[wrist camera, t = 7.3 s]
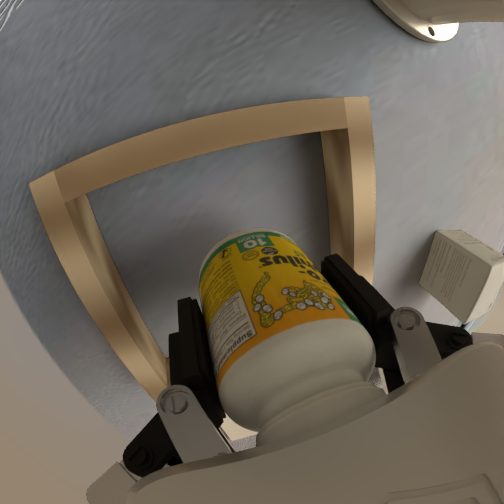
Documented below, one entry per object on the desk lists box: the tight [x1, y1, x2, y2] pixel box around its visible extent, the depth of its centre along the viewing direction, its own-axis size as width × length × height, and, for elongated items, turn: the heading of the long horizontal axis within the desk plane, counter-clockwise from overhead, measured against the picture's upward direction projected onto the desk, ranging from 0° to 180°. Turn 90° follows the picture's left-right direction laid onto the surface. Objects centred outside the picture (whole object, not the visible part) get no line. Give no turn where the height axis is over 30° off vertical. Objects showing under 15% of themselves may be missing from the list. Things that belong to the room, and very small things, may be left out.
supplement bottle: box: [198, 228, 386, 447], centre depth 10 cm, size 5×5×10 cm
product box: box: [419, 230, 504, 324], centre depth 20 cm, size 6×6×7 cm
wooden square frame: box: [29, 97, 376, 402], centre depth 16 cm, size 17×17×3 cm
